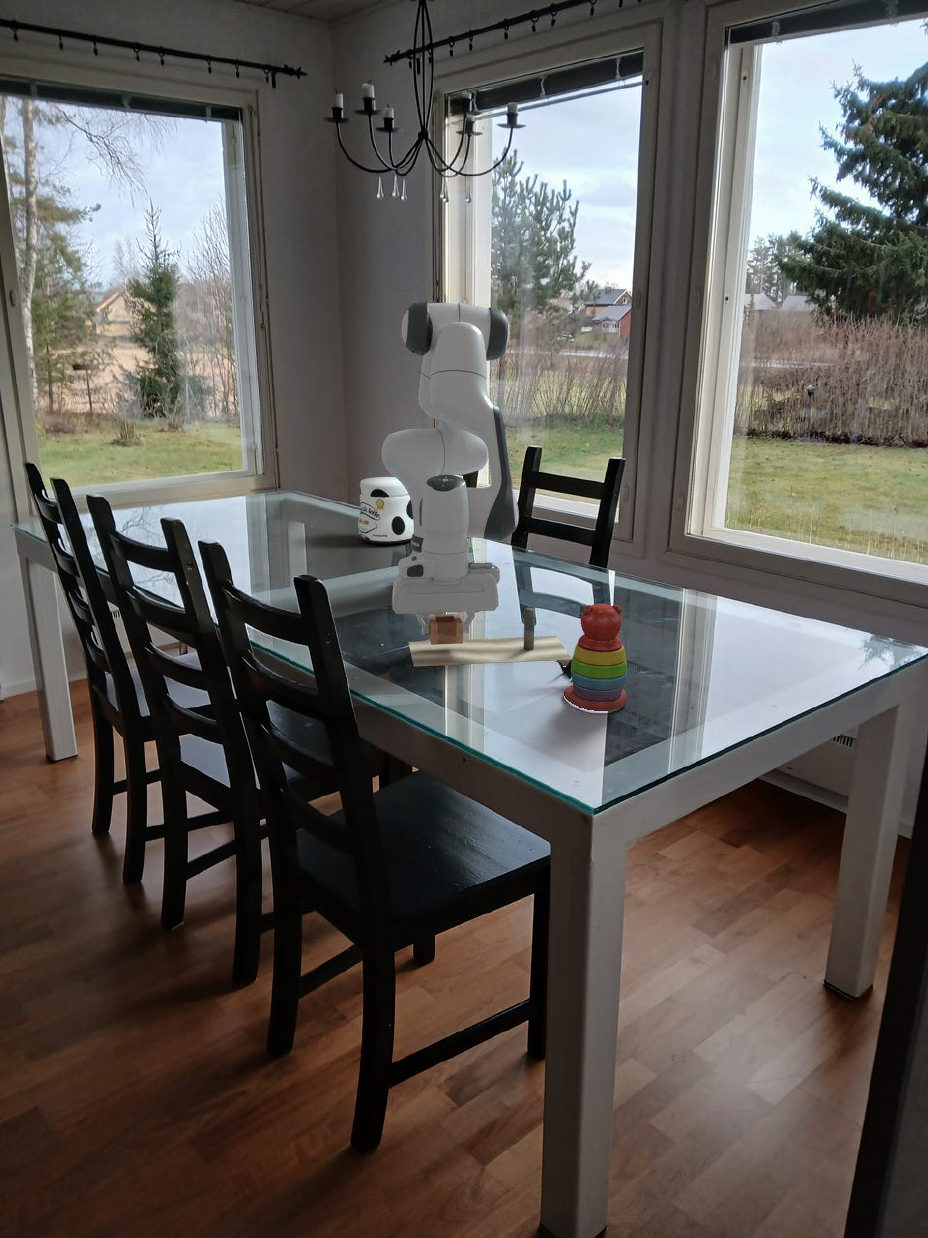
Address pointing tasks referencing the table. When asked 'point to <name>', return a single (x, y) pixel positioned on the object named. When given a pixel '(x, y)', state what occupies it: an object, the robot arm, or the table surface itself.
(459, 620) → the bead
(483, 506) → the robot arm
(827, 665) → the table surface
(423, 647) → the board
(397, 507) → the milk container
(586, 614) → the stacking bear
